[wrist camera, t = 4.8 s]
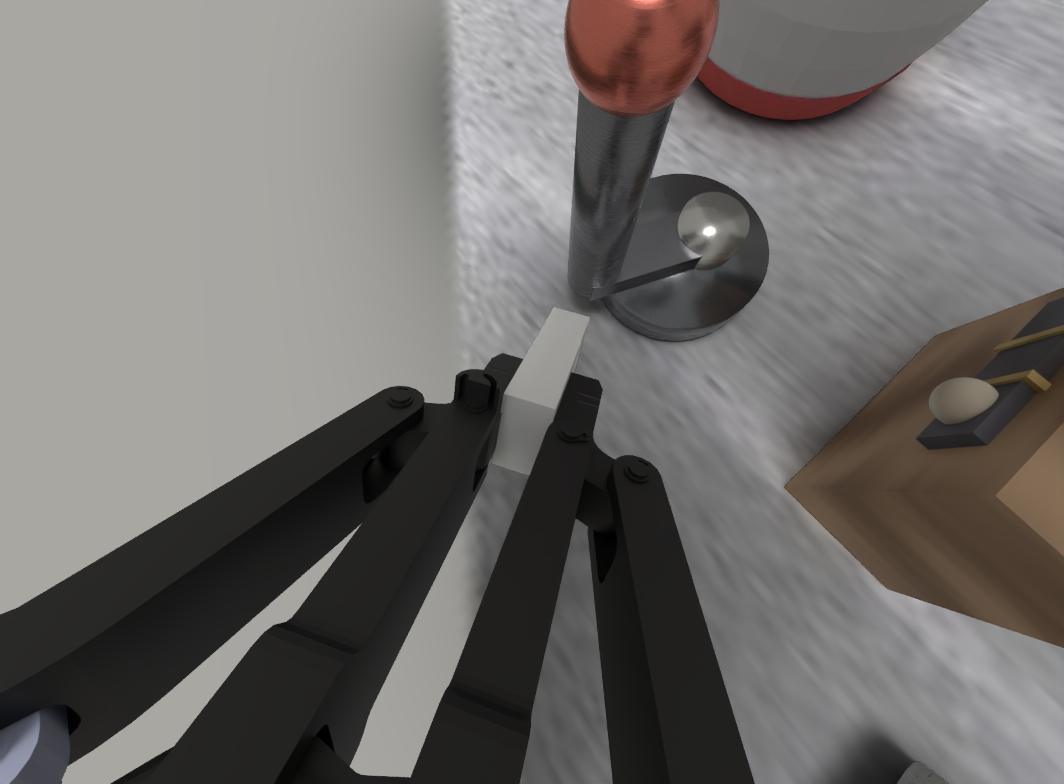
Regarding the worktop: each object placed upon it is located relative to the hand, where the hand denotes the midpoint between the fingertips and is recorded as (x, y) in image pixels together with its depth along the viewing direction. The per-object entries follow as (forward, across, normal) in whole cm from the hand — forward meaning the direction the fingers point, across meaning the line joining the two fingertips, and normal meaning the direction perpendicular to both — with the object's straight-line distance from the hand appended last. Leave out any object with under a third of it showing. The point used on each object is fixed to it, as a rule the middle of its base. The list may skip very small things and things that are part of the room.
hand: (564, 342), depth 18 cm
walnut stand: (+4, +17, -3) cm, 18 cm away
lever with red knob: (+7, +3, +1) cm, 8 cm away
